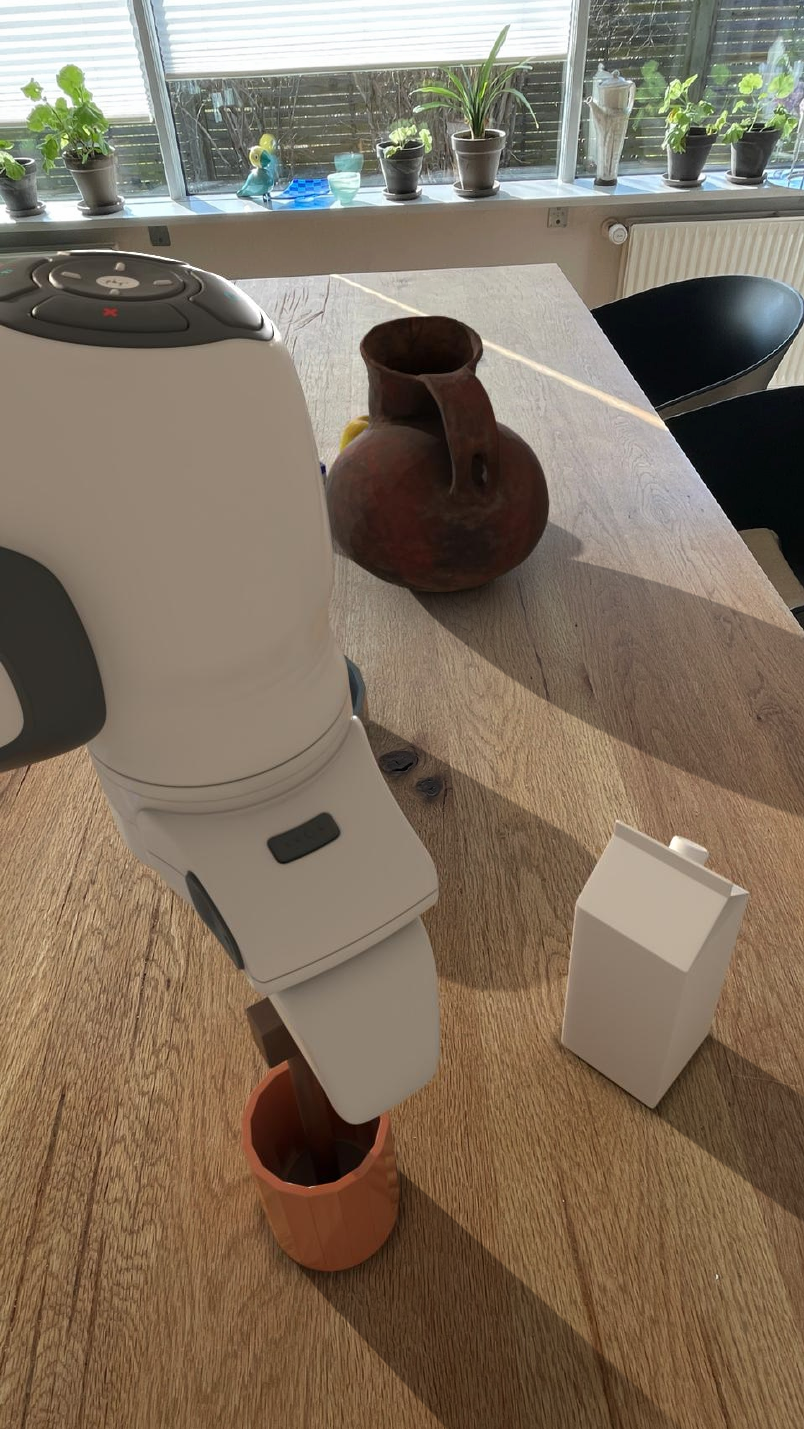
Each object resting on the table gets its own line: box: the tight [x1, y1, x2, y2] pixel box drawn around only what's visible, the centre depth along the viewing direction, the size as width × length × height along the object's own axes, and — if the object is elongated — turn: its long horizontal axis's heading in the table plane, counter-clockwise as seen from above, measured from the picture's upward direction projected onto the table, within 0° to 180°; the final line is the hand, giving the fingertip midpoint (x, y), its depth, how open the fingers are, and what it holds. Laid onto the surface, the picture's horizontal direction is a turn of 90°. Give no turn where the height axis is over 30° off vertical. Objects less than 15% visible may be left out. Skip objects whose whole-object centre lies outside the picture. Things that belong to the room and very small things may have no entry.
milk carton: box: [560, 819, 751, 1109], centre depth 58 cm, size 7×7×19 cm
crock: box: [241, 1060, 400, 1272], centre depth 53 cm, size 8×8×10 cm
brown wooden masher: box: [244, 996, 366, 1187], centre depth 50 cm, size 5×5×20 cm
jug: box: [325, 315, 550, 593], centre depth 103 cm, size 25×25×25 cm
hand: (286, 983), depth 42 cm, fingers open, 8 cm apart
